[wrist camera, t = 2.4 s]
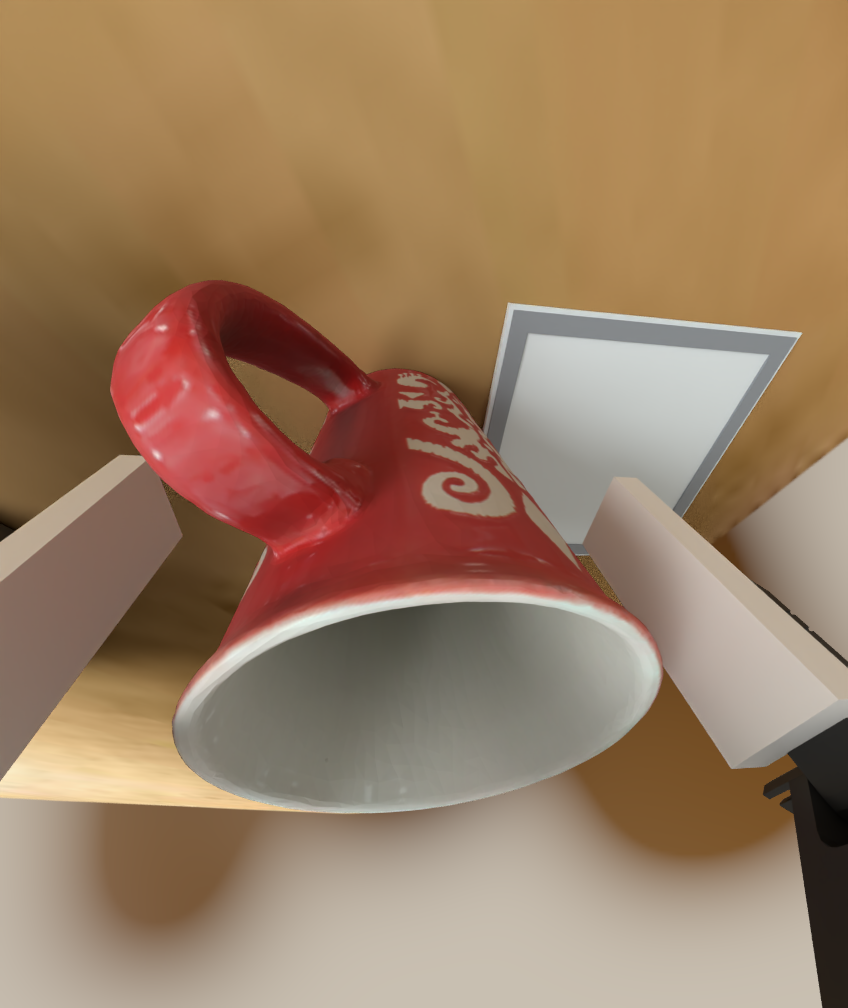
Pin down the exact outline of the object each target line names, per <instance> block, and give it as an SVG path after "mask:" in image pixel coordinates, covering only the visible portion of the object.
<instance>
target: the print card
mask: <svg viewBox="0 0 848 1008" xmlns="http://www.w3.org/2000/svg"><path fill="white" fill-rule="evenodd" d="M801 334H802V333H800V332H793V331H783V330H773V329H763V328H753V327H744V326H734V325H724V324H714V323H704V322H694V321H684V320H674V319H665V318H655V317H645V316H635V315H625V314H615V313H605V312H595V311H586V310H576V309H566V308H556V307H546V306H536V305H526V304H516V303H508V306H507V311H506V316H505V321H504V326H503V331H502V336H501V341H500V346H499V350H498V355H497V360H496V365H495V370H494V375H493V380H492V385H491V390H490V395H489V400H488V405H487V410H486V415H485V420H484V425H483V430H482V431H483V432H484V434H485V435H486V437H487V438H488V439H489V440H490V442H491V443H492V444H493V446H494V447H495V449H496V450H497V452H498V453H499V454H500V456H501V457H502V459H503V460H504V462H505V463H506V464H507V466H508V467H509V468H510V470H511V471H512V472H513V474H514V475H515V476H516V477H517V478H518V479H519V480H520V481H521V482H522V484H523V485H524V487H525V488H526V490H527V491H528V492H529V493H530V495H531V496H532V497H533V499H534V500H535V502H536V503H537V504H538V506H539V507H540V508H541V510H542V511H543V512H544V514H545V515H546V516H547V518H548V519H549V520H550V522H551V523H552V524H553V526H554V527H555V528H556V530H557V531H558V532H559V534H560V535H561V537H562V538H563V539H564V541H565V542H566V543H567V545H568V546H569V547H570V549H571V550H572V551H573V553H574V554H575V555H589V554H588V552H587V551H586V549H585V548H584V546H583V545H582V543H583V541H584V539H585V537H586V535H587V533H588V530H589V528H590V526H591V524H592V522H593V520H594V518H595V516H596V513H597V511H598V509H599V507H600V505H601V503H602V501H603V498H604V496H605V494H606V492H607V490H608V488H609V486H610V484H611V481H612V479H613V477H631V478H637V479H639V480H640V481H641V482H642V483H643V484H644V485H645V486H646V487H647V488H649V489H650V490H651V491H652V492H653V493H654V494H655V495H656V496H657V497H659V498H660V499H661V500H662V501H663V502H664V503H665V504H666V505H667V506H669V507H670V508H671V509H672V510H673V511H674V512H675V513H676V514H677V515H679V516H680V517H681V518H682V517H683V515H684V514H685V512H686V511H687V509H688V508H689V506H690V505H691V503H692V502H693V500H694V498H695V497H696V495H697V494H698V492H699V491H700V489H701V488H702V486H703V485H704V483H705V482H706V480H707V479H708V477H709V475H710V474H711V472H712V471H713V469H714V468H715V466H716V465H717V463H718V462H719V460H720V459H721V457H722V455H723V454H724V452H725V451H726V449H727V448H728V446H729V445H730V443H731V442H732V440H733V439H734V437H735V435H736V434H737V432H738V431H739V429H740V428H741V426H742V425H743V423H744V422H745V420H746V419H747V417H748V416H749V414H750V412H751V411H752V409H753V408H754V406H755V405H756V403H757V402H758V400H759V399H760V397H761V396H762V394H763V392H764V391H765V389H766V388H767V386H768V385H769V383H770V382H771V380H772V379H773V377H774V376H775V374H776V372H777V371H778V369H779V368H780V366H781V365H782V363H783V362H784V360H785V359H786V357H787V356H788V354H789V353H790V351H791V349H792V348H793V346H794V345H795V343H796V342H797V340H798V339H799V337H800V336H801Z"/></svg>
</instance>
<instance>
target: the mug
mask: <svg viewBox="0 0 848 1008" xmlns="http://www.w3.org/2000/svg"><path fill="white" fill-rule="evenodd" d="M225 356H227V357H231V358H234V359H237V360H240V361H243V362H246V363H249V364H252V365H255V366H256V367H258V368H261V369H263V370H266V371H268V372H271V373H273V374H276V375H278V376H280V377H282V378H284V379H286V380H288V381H290V382H292V383H295V384H297V385H299V386H301V387H302V388H304V389H306V390H308V391H309V392H311V393H312V394H314V395H315V396H317V397H318V398H319V399H321V400H322V401H323V402H324V403H325V404H326V405H327V407H328V408H329V411H328V414H327V416H326V418H325V421H324V424H323V426H322V428H321V431H320V433H319V435H318V437H317V439H316V441H315V443H314V445H313V447H312V449H311V452H310V454H307V453H306V452H305V451H303V450H302V449H300V448H299V447H298V446H297V445H295V444H294V443H293V442H292V441H291V440H290V439H289V438H288V437H287V436H286V435H284V434H283V433H282V432H281V431H280V430H279V429H278V428H277V427H276V426H275V425H274V424H273V422H272V421H271V420H270V419H269V418H268V417H267V416H266V415H265V414H264V413H263V412H262V411H261V410H260V409H259V408H258V407H257V405H256V404H255V403H254V401H253V400H252V398H251V397H250V395H249V394H248V392H247V391H246V389H245V388H244V386H243V385H242V384H241V382H240V381H239V380H238V379H237V377H236V376H235V374H234V373H233V371H232V370H231V368H230V366H229V364H228V361H227V359H226V357H225ZM110 392H111V396H112V398H113V401H114V404H115V407H116V410H117V413H118V416H119V418H120V420H121V422H122V424H123V426H124V428H125V430H126V432H127V433H128V435H129V437H130V439H131V441H132V443H133V444H134V446H135V447H136V448H137V450H138V451H139V452H140V454H141V455H142V456H143V458H144V459H145V460H146V462H147V463H148V464H149V466H150V467H151V468H152V470H153V471H154V472H155V473H156V474H157V475H158V476H159V477H160V478H161V479H162V480H163V481H164V482H165V483H167V484H168V485H169V486H170V487H171V488H173V489H174V490H175V491H176V492H177V493H178V494H180V495H181V496H183V497H184V498H186V499H187V500H189V501H190V502H192V503H193V504H195V505H196V506H197V507H199V508H200V509H201V510H203V511H204V512H205V513H207V514H208V515H210V516H212V517H214V518H216V519H218V520H220V521H222V522H224V523H227V524H229V525H231V526H233V527H235V528H238V529H240V530H242V531H245V532H247V533H249V534H251V535H253V536H255V537H257V538H259V539H261V540H262V541H264V542H265V543H266V547H265V549H264V551H263V553H262V556H261V558H260V560H259V561H258V563H257V565H256V567H255V570H254V573H253V575H252V578H251V580H250V582H249V584H248V586H247V589H246V591H245V593H244V595H243V597H242V599H241V601H240V603H239V606H238V608H237V610H236V612H235V614H234V616H233V618H232V620H231V623H230V625H229V627H228V629H227V631H226V633H225V635H224V637H223V639H222V641H221V644H220V646H219V647H218V649H217V651H216V652H215V653H214V654H213V655H212V656H211V657H210V658H209V659H208V660H207V661H206V662H205V664H204V665H203V666H202V667H201V668H200V669H199V670H198V671H197V673H196V674H195V675H194V677H193V678H192V679H191V681H190V682H189V684H188V685H187V687H186V689H185V690H184V692H183V694H182V696H181V697H180V699H179V701H178V704H177V706H176V712H175V714H174V716H173V720H172V726H173V730H172V733H173V738H174V743H175V745H176V748H177V750H178V753H179V755H180V756H181V758H182V759H183V761H184V762H185V764H186V765H187V766H188V767H189V768H190V769H191V770H192V771H193V772H195V773H196V774H197V775H198V776H200V777H201V778H202V779H204V780H205V781H207V782H209V783H210V784H212V785H214V786H216V787H218V788H220V789H222V790H224V791H227V792H229V793H232V794H234V795H237V796H240V797H243V798H246V799H249V800H253V801H257V802H261V803H265V804H270V805H275V806H279V807H284V808H289V809H296V810H304V811H316V812H332V813H379V812H380V813H381V812H397V811H410V810H420V809H428V808H435V807H442V806H449V805H454V804H459V803H464V802H469V801H474V800H478V799H483V798H487V797H491V796H495V795H499V794H502V793H505V792H509V791H512V790H516V789H519V788H523V787H525V786H528V785H531V784H533V783H536V782H538V781H541V780H544V779H547V778H549V777H552V776H555V775H557V774H560V773H562V772H564V771H566V770H568V769H570V768H572V767H574V766H576V765H578V764H580V763H583V762H585V761H586V760H588V759H590V758H592V757H594V756H596V755H597V754H599V753H601V752H602V751H604V750H605V749H607V748H608V747H610V746H611V745H613V744H614V743H615V742H617V741H618V740H619V739H621V738H622V737H623V736H624V735H625V734H627V733H628V732H629V731H630V730H631V728H632V727H633V726H634V725H635V724H637V723H638V722H639V721H640V720H641V719H642V717H643V716H644V715H645V714H646V713H647V712H648V710H649V708H650V707H651V705H652V703H653V702H654V700H655V699H656V696H657V694H658V692H659V690H660V686H661V682H662V678H663V662H662V657H661V654H660V651H659V649H658V646H657V643H656V641H655V640H654V638H653V637H652V635H651V633H650V632H649V630H648V629H647V627H646V626H645V625H644V624H643V623H642V622H641V621H640V620H639V619H638V618H637V617H635V616H634V615H633V614H631V613H630V612H629V611H628V610H626V609H625V608H624V607H623V606H621V605H619V604H618V603H616V602H615V601H613V600H612V599H610V598H609V597H607V596H606V595H605V594H604V592H603V591H602V590H601V588H600V587H599V586H598V584H597V583H596V582H595V580H594V579H593V578H592V576H591V575H590V574H589V572H588V571H587V570H586V569H585V567H584V566H583V565H582V563H581V562H580V561H579V559H578V558H577V557H576V555H575V554H574V553H573V551H572V550H571V549H570V547H569V546H568V545H567V543H566V542H565V541H564V539H563V538H562V537H561V535H560V534H559V532H558V531H557V530H556V528H555V527H554V526H553V524H552V523H551V522H550V520H549V519H548V518H547V516H546V515H545V514H544V512H543V511H542V510H541V508H540V507H539V506H538V504H537V503H536V502H535V500H534V499H533V497H532V496H531V495H530V493H529V492H528V491H527V490H526V488H525V487H524V485H523V484H522V482H521V481H520V480H519V479H518V478H517V477H516V476H515V475H514V474H513V472H512V471H511V470H510V468H509V467H508V466H507V464H506V463H505V462H504V460H503V459H502V457H501V456H500V454H499V453H498V452H497V450H496V449H495V447H494V446H493V444H492V443H491V442H490V440H489V439H488V438H487V437H486V435H485V434H484V432H483V431H482V430H481V428H480V427H479V426H478V425H477V423H476V422H475V421H474V419H473V418H472V417H471V415H470V413H469V411H468V410H467V408H466V407H465V406H464V405H463V404H462V402H461V401H460V400H459V399H458V397H457V396H456V395H455V394H454V393H453V392H452V391H451V390H450V389H449V388H448V387H446V386H445V385H444V384H442V383H441V382H439V381H438V380H437V379H435V378H433V377H431V376H429V375H426V374H424V373H422V372H418V371H414V370H407V369H397V368H394V369H385V370H380V371H375V372H373V373H370V374H367V375H366V374H365V373H364V372H363V371H362V370H360V369H359V368H358V367H357V366H356V365H355V364H354V363H353V361H352V360H350V359H349V358H348V357H347V356H346V355H345V354H344V353H343V352H341V351H340V350H339V349H338V348H337V347H336V346H335V345H334V344H332V343H331V342H330V341H329V340H328V339H327V338H325V337H324V336H323V335H322V334H321V333H319V332H318V331H317V330H316V329H314V328H313V327H312V326H310V325H309V324H308V323H307V322H305V321H304V320H303V319H301V318H300V317H299V316H297V315H296V314H295V313H293V312H292V311H290V310H289V309H288V308H286V307H285V306H284V305H282V304H280V303H279V302H277V301H275V300H273V299H271V298H270V297H268V296H266V295H264V294H262V293H260V292H258V291H256V290H254V289H252V288H250V287H248V286H245V285H241V284H238V283H233V282H228V281H223V280H208V281H203V282H199V283H195V284H191V285H188V286H186V287H184V288H182V289H180V290H178V291H177V292H175V293H173V294H171V295H169V296H168V297H166V298H165V299H164V300H162V301H161V302H160V303H159V304H157V305H156V306H155V307H154V308H153V309H152V310H151V311H150V312H149V313H148V314H147V315H146V317H145V318H144V319H143V320H142V321H141V322H140V323H139V324H138V325H137V326H136V327H135V328H134V329H133V330H132V331H131V332H130V333H129V335H128V336H127V338H126V339H125V341H124V342H123V343H122V345H121V346H120V348H119V349H118V352H117V355H116V358H115V361H114V365H113V372H112V379H111V387H110Z"/></svg>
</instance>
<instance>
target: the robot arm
mask: <svg viewBox="0 0 848 1008" xmlns="http://www.w3.org/2000/svg"><path fill="white" fill-rule="evenodd" d="M182 537H183V535H182V533H181V530H180V527H179V525H178V522H177V520H176V517H175V515H174V512H173V510H172V507H171V505H170V502H169V500H168V497H167V495H166V492H165V489H164V487H163V484H162V482H161V479H160V477H159V476H158V475H157V474H156V473H155V472H154V471H153V470H152V468H151V467H150V466H149V464H148V463H147V462H146V460H145V459H144V458H143V456H134V455H119V456H117V457H116V458H115V459H113V460H112V461H111V462H109V463H108V464H106V465H105V466H104V467H102V468H101V469H100V470H98V471H97V472H96V473H94V474H93V475H91V476H90V477H89V478H87V479H86V480H85V481H83V482H82V483H80V484H79V485H78V486H76V487H75V488H74V489H72V490H71V491H69V492H68V493H67V494H65V495H64V496H63V497H61V498H60V499H59V500H57V501H56V502H54V503H53V504H52V505H50V506H49V507H48V508H46V509H45V510H43V511H42V512H41V513H39V514H38V515H37V516H35V517H34V518H33V519H31V520H30V521H28V522H27V523H26V524H24V525H23V526H22V527H20V528H19V529H17V530H16V531H14V530H12V529H10V528H8V527H6V526H4V525H2V524H0V781H1V779H2V778H3V777H4V775H5V774H6V773H7V771H8V770H9V769H10V767H11V766H12V765H13V763H14V762H15V761H16V759H17V758H18V757H19V755H20V754H21V753H22V751H23V750H24V749H25V747H26V746H27V745H28V743H29V742H30V741H31V739H32V738H33V737H34V735H35V734H36V732H37V731H38V730H39V728H40V727H41V726H42V724H43V723H44V722H45V720H46V719H47V718H48V716H49V715H50V714H51V712H52V711H53V710H54V708H55V707H56V706H57V704H58V703H59V702H60V700H61V699H62V698H63V696H64V695H65V694H66V692H67V691H68V690H69V688H70V687H71V686H72V684H73V683H74V682H75V680H76V679H77V677H78V676H79V675H80V673H81V672H82V671H83V669H84V668H85V667H86V665H87V664H88V663H89V661H90V660H91V659H92V657H93V656H94V655H95V653H96V652H97V651H98V649H99V648H100V647H101V645H102V644H103V643H104V641H105V640H106V639H107V637H108V636H109V635H110V633H111V632H112V631H113V629H114V628H115V626H116V625H117V624H118V622H119V621H120V620H121V618H122V617H123V616H124V614H125V613H126V612H127V610H128V609H129V608H130V606H131V605H132V604H133V602H134V601H135V600H136V598H137V597H138V596H139V594H140V593H141V592H142V590H143V589H144V588H145V586H146V585H147V584H148V582H149V581H150V580H151V578H152V577H153V575H154V574H155V573H156V571H157V570H158V569H159V567H160V566H161V565H162V563H163V562H164V561H165V559H166V558H167V557H168V555H169V554H170V553H171V551H172V550H173V549H174V547H175V546H176V545H177V543H178V542H179V541H180V539H181V538H182ZM582 545H583V546H584V548H585V549H586V551H587V552H588V554H589V555H590V557H591V558H592V560H593V561H594V563H595V564H596V566H597V567H598V569H599V570H600V572H601V573H602V575H603V576H604V578H605V579H606V581H607V582H608V584H609V585H610V587H611V588H612V590H613V591H614V593H615V594H616V596H617V597H618V599H619V600H620V602H621V603H622V605H623V606H624V608H625V609H626V610H628V611H629V612H630V613H631V614H633V615H634V616H635V617H637V618H638V619H639V620H640V621H641V622H642V623H643V624H644V625H645V626H646V627H647V629H648V630H649V632H650V633H651V635H652V637H653V638H654V640H655V641H656V643H657V646H658V649H659V651H660V654H661V657H662V662H663V666H664V668H665V669H666V671H667V673H668V674H669V675H670V677H671V678H672V680H673V681H674V683H675V685H676V686H677V688H678V689H679V690H680V692H681V694H682V695H683V697H684V698H685V700H686V701H687V702H688V704H689V706H690V707H691V709H692V710H693V712H694V713H695V714H696V716H697V718H698V719H699V721H700V722H701V724H702V725H703V727H704V728H705V730H706V731H707V733H708V734H709V736H710V737H711V739H712V740H713V741H714V743H715V745H716V746H717V748H718V749H719V751H720V752H721V754H722V755H723V757H724V758H725V760H726V761H727V763H728V764H729V766H730V767H731V769H736V768H752V767H766V766H767V765H769V764H771V763H772V762H774V761H776V760H778V759H779V758H781V757H783V756H784V755H786V754H788V755H789V756H790V757H791V758H792V760H793V761H794V762H795V763H796V765H797V766H798V767H796V768H794V769H792V770H790V771H789V772H787V773H785V774H783V775H781V776H780V777H778V778H776V779H774V780H772V781H771V782H769V783H768V784H766V785H765V786H764V792H763V795H764V796H766V797H767V798H769V799H771V798H773V797H775V796H777V795H779V794H781V793H783V792H785V791H787V790H790V793H791V796H789V797H787V798H785V799H783V800H782V801H781V803H780V806H782V807H783V808H785V809H786V810H788V811H790V812H791V813H793V814H794V820H795V826H796V833H797V840H798V846H799V852H800V860H801V866H802V873H803V880H804V887H805V894H806V900H807V907H808V914H809V920H810V927H811V933H812V941H813V947H814V953H815V961H816V968H817V974H818V981H819V988H820V994H821V1001H822V1008H848V661H846V660H845V659H844V658H843V657H842V656H841V655H840V654H839V653H838V652H836V651H835V650H834V649H833V648H832V647H831V646H830V645H828V644H827V643H826V642H825V641H824V640H823V639H822V638H821V637H819V636H818V635H817V634H816V633H815V632H814V631H809V629H808V628H809V627H808V626H807V625H806V624H805V623H803V621H801V620H800V619H799V618H798V617H797V616H796V615H792V614H791V613H790V610H789V609H788V608H787V607H786V606H785V605H783V604H782V603H781V602H780V601H779V600H778V599H777V598H776V597H774V596H773V595H772V594H771V593H770V592H769V591H767V590H766V589H764V588H763V587H761V586H759V585H758V584H756V583H754V582H753V581H751V580H750V579H748V578H747V577H746V576H745V575H744V574H743V573H742V572H741V571H740V570H738V569H737V568H736V567H735V566H734V565H733V564H732V563H731V562H730V561H728V560H727V559H726V558H725V557H724V556H723V555H722V554H721V553H719V552H718V551H717V550H716V549H715V548H714V547H713V546H712V545H711V544H710V543H708V542H707V541H706V540H705V539H704V538H703V537H702V536H701V535H700V534H698V533H697V532H696V531H695V530H694V529H693V528H692V527H691V526H690V525H688V524H687V523H686V522H685V521H684V520H683V519H682V518H681V517H680V516H679V515H677V514H676V513H675V512H674V511H673V510H672V509H671V508H670V507H669V506H667V505H666V504H665V503H664V502H663V501H662V500H661V499H660V498H659V497H657V496H656V495H655V494H654V493H653V492H652V491H651V490H650V489H649V488H647V487H646V486H645V485H644V484H643V483H642V482H641V481H640V480H639V479H637V478H631V477H613V479H612V481H611V484H610V486H609V488H608V490H607V492H606V494H605V496H604V498H603V501H602V503H601V505H600V507H599V509H598V511H597V513H596V516H595V518H594V520H593V522H592V524H591V526H590V528H589V530H588V533H587V535H586V537H585V539H584V541H583V543H582Z"/></svg>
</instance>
